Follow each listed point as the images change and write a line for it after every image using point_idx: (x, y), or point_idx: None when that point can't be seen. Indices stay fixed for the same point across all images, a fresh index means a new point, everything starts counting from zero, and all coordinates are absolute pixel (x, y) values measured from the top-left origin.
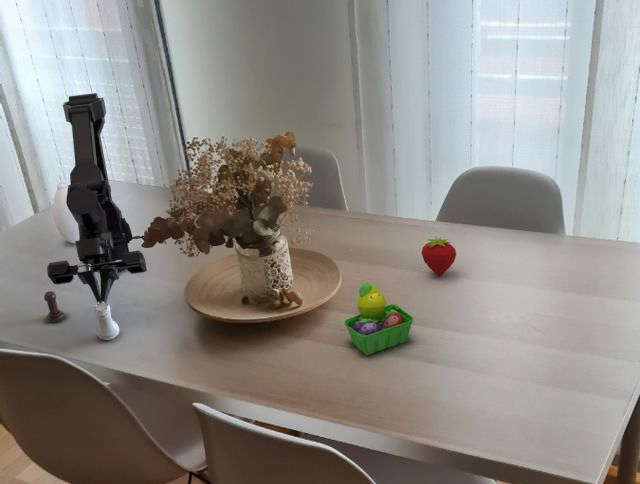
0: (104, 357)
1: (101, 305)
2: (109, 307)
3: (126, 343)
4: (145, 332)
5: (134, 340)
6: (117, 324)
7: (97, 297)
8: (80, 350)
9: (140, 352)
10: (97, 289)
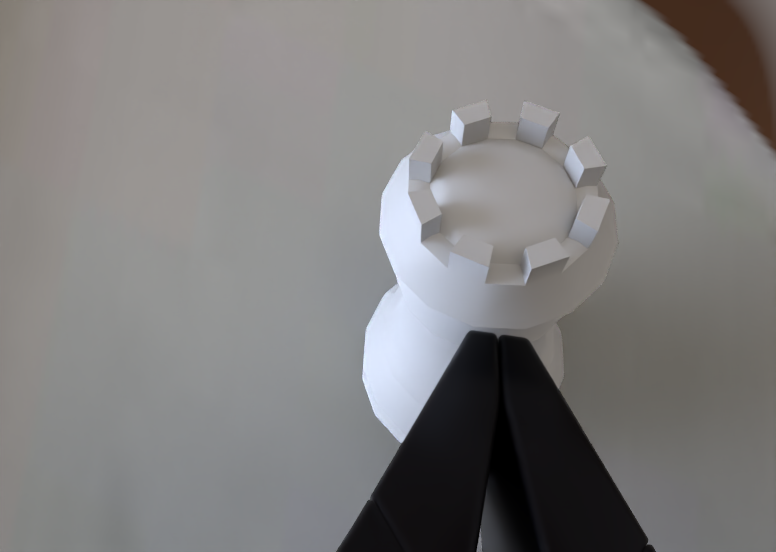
0: (521, 50)
1: (500, 218)
2: (390, 200)
3: (338, 191)
4: (173, 303)
5: (273, 212)
6: (365, 361)
7: (551, 435)
8: (701, 237)
9: (255, 13)
10: (543, 550)
